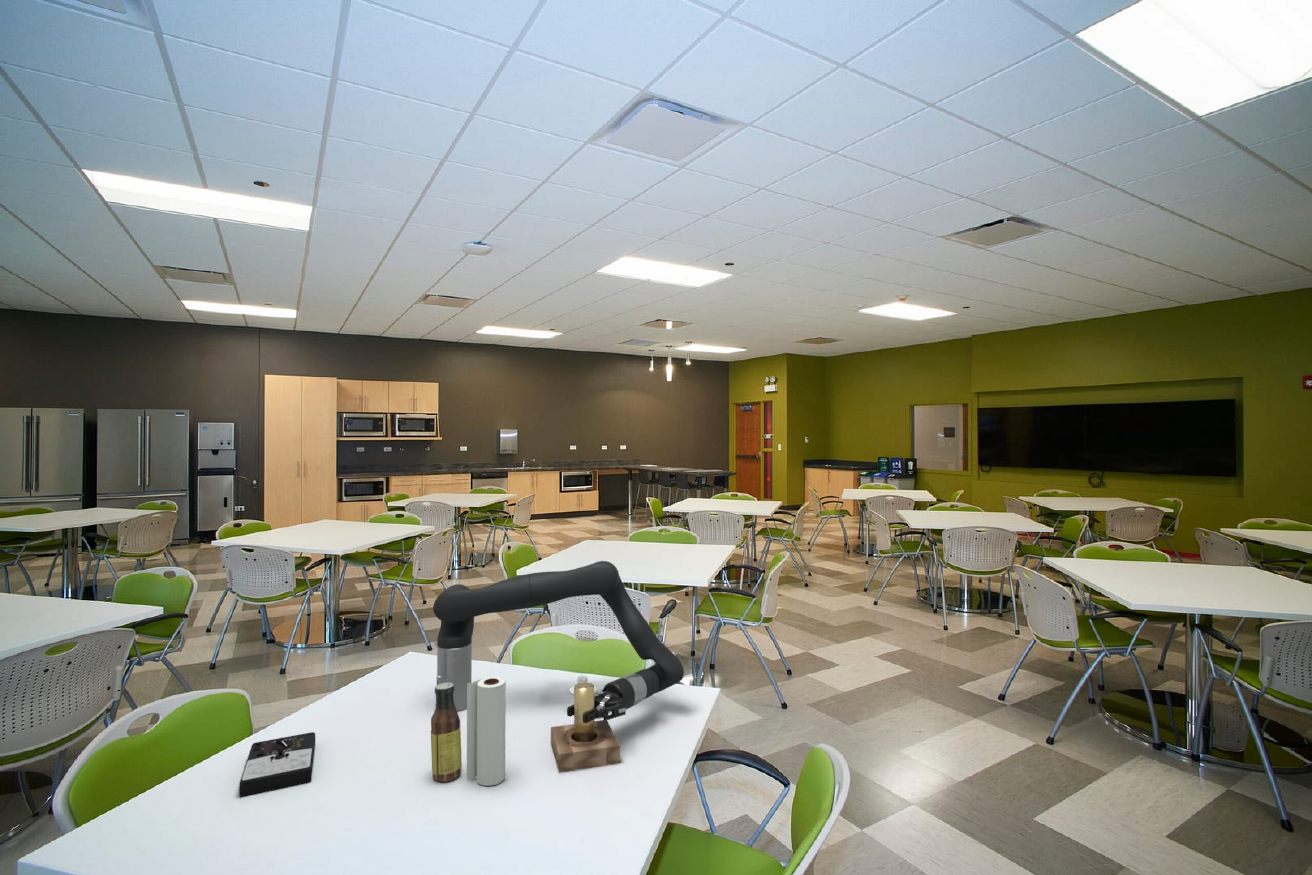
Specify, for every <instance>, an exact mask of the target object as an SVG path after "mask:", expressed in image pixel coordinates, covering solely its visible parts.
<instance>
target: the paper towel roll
mask: <svg viewBox="0 0 1312 875" xmlns="http://www.w3.org/2000/svg"><path fill="white" fill-rule="evenodd" d="M506 681H507V680H506V679H505V678H503V677H501V676H500V677H499V676H490V677H486V678H481V679H478V680H475V681H472V683H469V684H467V708H466V781H467V782H468V781H472V780H474V779H475V778H476V781H477V784H479V785H481V786H486V787H489V786H495V785H498V784H500V783H503V781H504V780H505V778H506V690H507V689H506Z"/></svg>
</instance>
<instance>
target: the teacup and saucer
mask: <svg viewBox="0 0 1312 875" xmlns="http://www.w3.org/2000/svg"><path fill="white" fill-rule="evenodd" d="M588 680H589V678H588V676H587V675H580V676H577V678H576V681H577V682H576V684H578V683H584V682H587V683H589V682H588ZM574 686H575V685H574ZM574 686H572V687H570V688H569V689H568V690H569V693H570V694H571V695H574V690H573V689H574ZM596 690H597V687H595V686H594V693H596V692H597V691H596Z"/></svg>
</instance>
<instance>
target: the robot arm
mask: <svg viewBox="0 0 1312 875" xmlns="http://www.w3.org/2000/svg"><path fill="white" fill-rule="evenodd" d="M583 596H584V597H585V596H600V597H601V598H602V599H603V601H605V603H606V604H607V605H608V607H609V608H610V610H611V611H612V612H613V615H614V616H615V617H616V619H617V621H618V623H619V625H620V627H621V629H622V631H623V633H624V635H625V636H626V638H627V640H628V641H629V644H630V645H631V647H632V648H633V650H634V651H635V653H636V654H637V655H638V657H639V659H641V660H642V661H647V660H652V661H653V662H654V663H655V664H653V665H652V666H651V665H650V667H647V668H644V669H640V670H637V671H636V672H634V673H630V674H625V675H624V676H621V677H619V678H617V679H614V680H611V681H610V682H608V683H607V684H605V685H604V687H603V689H602V690H601V691H598V692H597V691H596V692H594V709H592V710H589V711H587V712H585V713H584V714H583V723H588V722H590V721H592V720H594V721H595V720H601V719H602V720H607V721H609V720H612V719H614V718H618V717H619V718H620V717H622V716H625V715H626V713H627V712H626V711H627V710H629V709H630V708H632V707H635V706H637V705H638V704H640V703H641V702H642V701H644V700H647V699H648V698H650V697H652V696H654V695H655V694H657V693H660V692H662V691H665V690H667V689H668V688H671V687H672V686H675V685H676V684H678V683H680V682H682V680H683V678H684V676H685V670H684V666H683V664H682V662H681V661H680V659H679V658H678V656H676V655H675V653H674V652H672V651H671V650H670V649H669V648H668V647H667V646H666V645H664V644H663V642H661V641H660V639H659V638H658V636H657V635H656V633H655V632H654V630H653V629H652V628H651V626H650V624H649V623H648V621H647V620H646V618H645V617H644V616H643V615H642V613H641V612H640V610H639V609H638V607H637V606H636V604H635V603H634V602H633V599H632V598H631V597H630V594H629V593H628V591H627V590H626V588H625V585H624V583H623V581H622V578H621V576H620V574H619V570H618V568H617V566H615V564H613V563H612V562H610V561H607V560H598V561H596V562H594V563H590V564H587V565H584V566H580V567H578V568H573V569H569V570H558V571H557V570H556V571H539V572H532V573H526V574H521V575H515V576H513V577H509V578H506V579H503V580H500V581H497V582H495V583H492V584H489V585H487V586H483V587H477V588H469V587H468V586H467V585H464V584H460V583H459V584H458V583H457V584H453V585H451V586H449V587H447V588H445V589H444V590H443V591H441V593H439V595H438V596H437V597H436V598H435V601H434V603H433V606H432V611H433V614H434V616H435V617H436V618H437V619H438V621H439V620H440V628H439V631H438V634H437V639H436V642H437V643H436V645H437V646H436V649H437V651H436V652H437V654H436V655H437V658H436V685H438V684H441V683H452V684H454V692H453V697H454V704H455V707H456V710H457V712H461V711H463V710H467V684H469V683H472V682H473V681H472V680H473V679H472V672H473V671H472V667H473V666H472V664H473V663H472V661H473V660H472V659H473V658H472V649H473V648H472V645H473V644H472V642H473V641H472V640H473V632H474V626H475V617H476V618H477V617H479V616H484V615H487V614H488V615H489V614H495V613H503V612H509V611H516V610H524V609H530V608H536V607H540V606H545V605H548V604H552V603H555V602H558V601H559V602H560V601H563V600H564V599H568V598H573V597H583ZM566 716H567V717H574V703H573V704H571V705H570V706H567V709H566Z"/></svg>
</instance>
